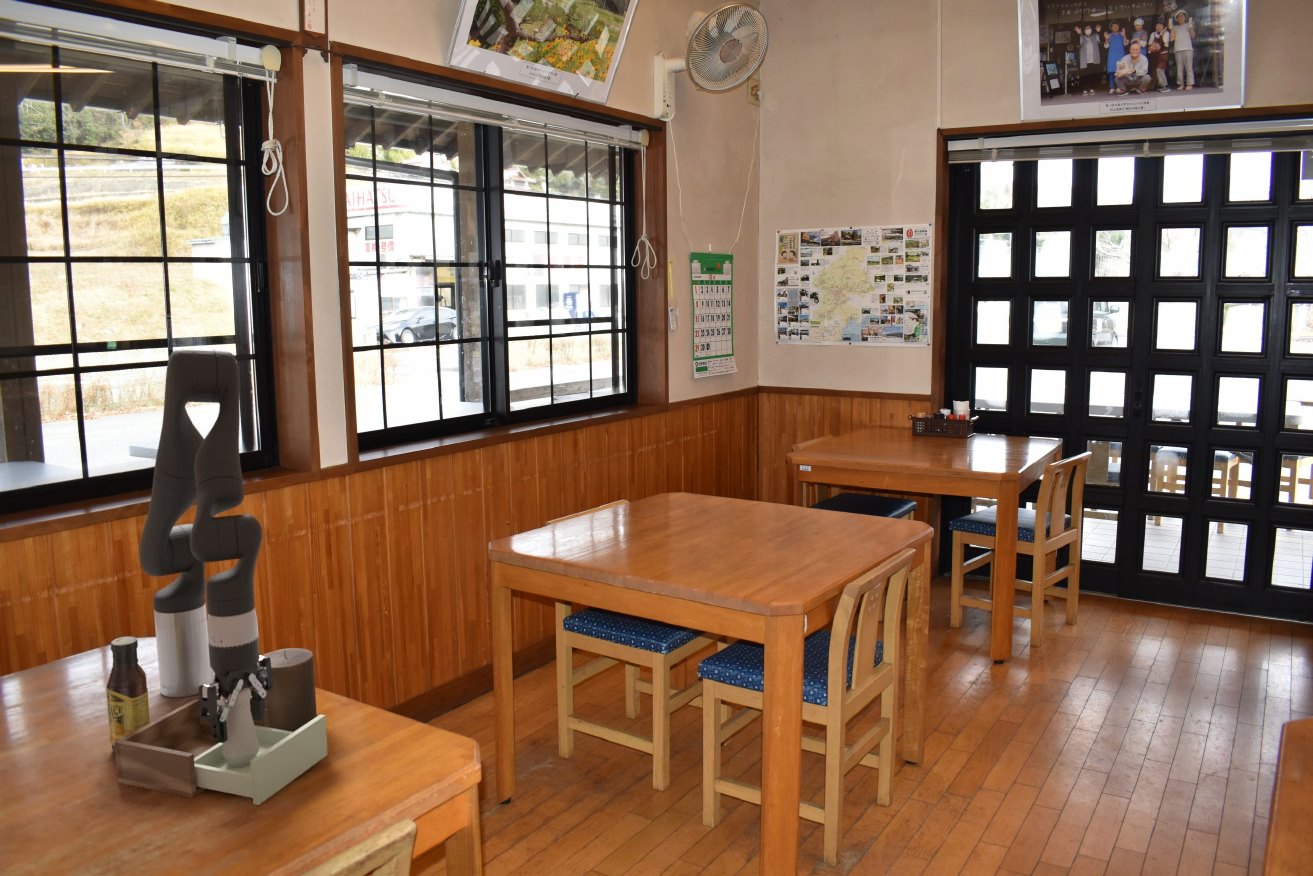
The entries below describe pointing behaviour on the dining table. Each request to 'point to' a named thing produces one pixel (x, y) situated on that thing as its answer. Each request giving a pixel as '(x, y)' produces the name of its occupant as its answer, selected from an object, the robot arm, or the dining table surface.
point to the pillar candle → (291, 689)
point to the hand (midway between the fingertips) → (239, 730)
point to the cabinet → (167, 751)
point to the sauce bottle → (126, 691)
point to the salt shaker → (240, 732)
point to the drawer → (265, 761)
